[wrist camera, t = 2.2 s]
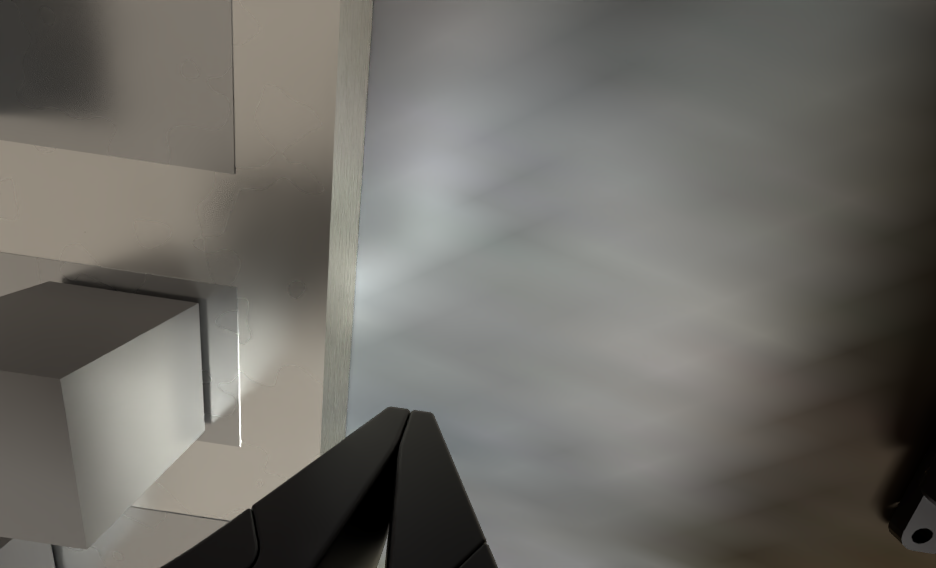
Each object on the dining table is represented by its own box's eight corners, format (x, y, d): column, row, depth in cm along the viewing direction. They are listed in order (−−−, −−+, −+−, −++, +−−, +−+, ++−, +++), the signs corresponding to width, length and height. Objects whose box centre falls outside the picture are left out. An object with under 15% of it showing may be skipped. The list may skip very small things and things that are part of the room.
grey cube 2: (198, 302, 9) (59, 379, 6) (205, 431, 10) (86, 549, 7) (49, 280, 9) (-160, 346, 6) (69, 411, 10) (-104, 521, 7)
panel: (382, -142, 8) (342, -250, 6) (332, 624, 14) (303, 715, 12) (-305, -240, 8) (-603, -385, 6) (-66, 564, 14) (-170, 643, 12)
